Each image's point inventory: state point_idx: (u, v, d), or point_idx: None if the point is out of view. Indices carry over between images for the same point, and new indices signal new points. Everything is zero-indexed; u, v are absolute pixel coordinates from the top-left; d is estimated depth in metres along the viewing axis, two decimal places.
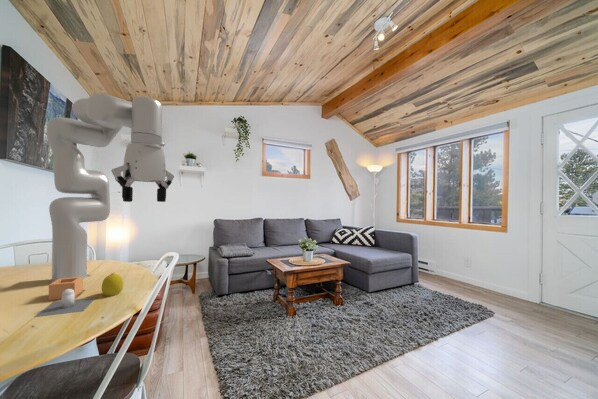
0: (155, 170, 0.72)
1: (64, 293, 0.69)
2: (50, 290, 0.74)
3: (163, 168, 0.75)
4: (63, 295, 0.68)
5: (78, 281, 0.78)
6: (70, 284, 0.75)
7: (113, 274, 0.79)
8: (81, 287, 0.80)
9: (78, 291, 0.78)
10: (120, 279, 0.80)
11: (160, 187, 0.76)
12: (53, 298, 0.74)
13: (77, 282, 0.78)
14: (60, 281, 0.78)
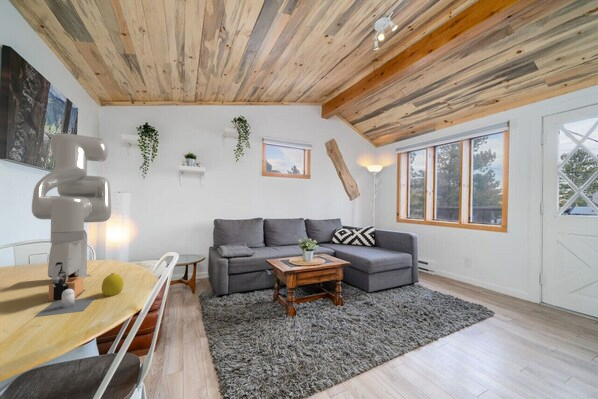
0: (78, 261, 0.79)
1: (64, 293, 0.69)
2: (50, 290, 0.74)
3: (81, 256, 0.82)
4: (63, 295, 0.68)
5: (78, 281, 0.78)
6: (70, 284, 0.75)
7: (113, 274, 0.79)
8: (81, 287, 0.80)
9: (78, 291, 0.78)
10: (120, 279, 0.80)
11: (70, 277, 0.80)
12: None
13: (77, 282, 0.78)
14: None
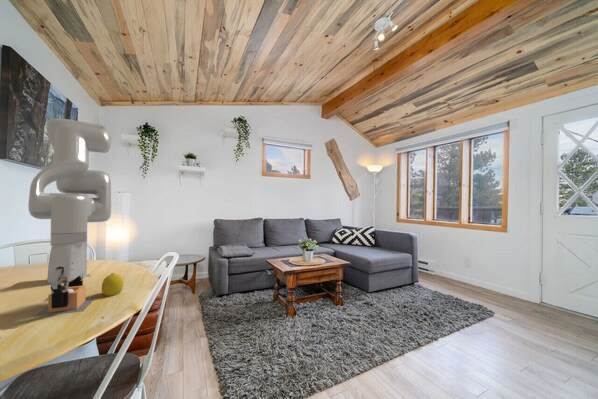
0: (81, 265, 0.72)
1: None
2: (50, 301, 0.66)
3: (84, 260, 0.74)
4: None
5: (81, 290, 0.71)
6: (72, 295, 0.68)
7: (113, 274, 0.79)
8: (84, 297, 0.73)
9: (81, 302, 0.71)
10: (120, 279, 0.80)
11: (74, 280, 0.74)
12: (53, 310, 0.66)
13: (80, 292, 0.70)
14: None
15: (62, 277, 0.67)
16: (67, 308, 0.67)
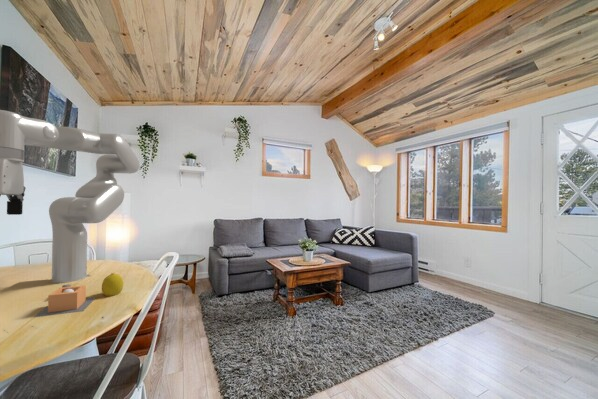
0: (18, 184, 0.73)
1: None
2: (50, 301, 0.66)
3: (22, 181, 0.75)
4: None
5: (81, 290, 0.71)
6: (72, 295, 0.68)
7: (113, 274, 0.79)
8: (84, 297, 0.73)
9: (81, 302, 0.71)
10: (120, 279, 0.80)
11: (13, 200, 0.75)
12: (53, 310, 0.66)
13: (80, 292, 0.70)
14: (61, 291, 0.70)
15: None
16: (67, 308, 0.67)
